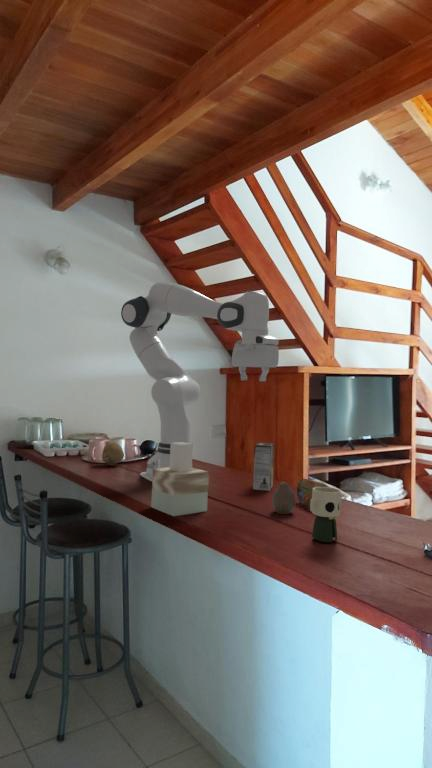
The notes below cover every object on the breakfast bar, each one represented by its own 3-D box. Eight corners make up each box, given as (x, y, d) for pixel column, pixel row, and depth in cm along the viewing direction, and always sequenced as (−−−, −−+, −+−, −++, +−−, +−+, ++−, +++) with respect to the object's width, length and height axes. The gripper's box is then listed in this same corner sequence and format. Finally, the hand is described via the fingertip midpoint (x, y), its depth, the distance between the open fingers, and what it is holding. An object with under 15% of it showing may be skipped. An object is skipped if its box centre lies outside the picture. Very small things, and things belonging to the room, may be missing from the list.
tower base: (151, 508, 168) (152, 488, 168) (183, 503, 175) (184, 484, 175) (173, 517, 159) (174, 496, 158) (206, 512, 166) (207, 491, 166)
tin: (295, 501, 184) (296, 476, 183) (303, 501, 185) (304, 475, 185) (322, 512, 170) (323, 485, 170) (330, 512, 171) (332, 484, 171)
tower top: (152, 488, 168) (153, 468, 167) (184, 484, 175) (185, 465, 175) (175, 496, 158) (176, 475, 158) (208, 491, 166) (209, 471, 166)
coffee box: (255, 484, 208) (257, 442, 208) (272, 486, 207) (274, 443, 207) (252, 489, 199) (254, 445, 199) (270, 491, 198) (272, 446, 198)
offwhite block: (169, 469, 167) (170, 442, 167) (181, 468, 170) (182, 442, 170) (179, 471, 164) (180, 444, 163) (191, 470, 167) (192, 444, 166)
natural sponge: (127, 465, 240) (128, 442, 240) (117, 468, 231) (118, 444, 231) (108, 463, 243) (109, 440, 242) (98, 466, 234) (98, 442, 234)
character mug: (319, 547, 135) (322, 494, 134) (298, 540, 140) (301, 488, 140) (349, 541, 141) (352, 490, 141) (328, 534, 147) (330, 485, 146)
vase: (296, 511, 170) (298, 482, 170) (292, 516, 164) (293, 486, 163) (274, 508, 172) (275, 480, 172) (269, 513, 166) (270, 484, 166)
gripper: (228, 339, 194) (226, 379, 194) (268, 338, 178) (266, 381, 178) (242, 341, 198) (240, 379, 198) (282, 339, 181) (280, 382, 182)
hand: (253, 380), depth 188 cm, fingers open, 8 cm apart
